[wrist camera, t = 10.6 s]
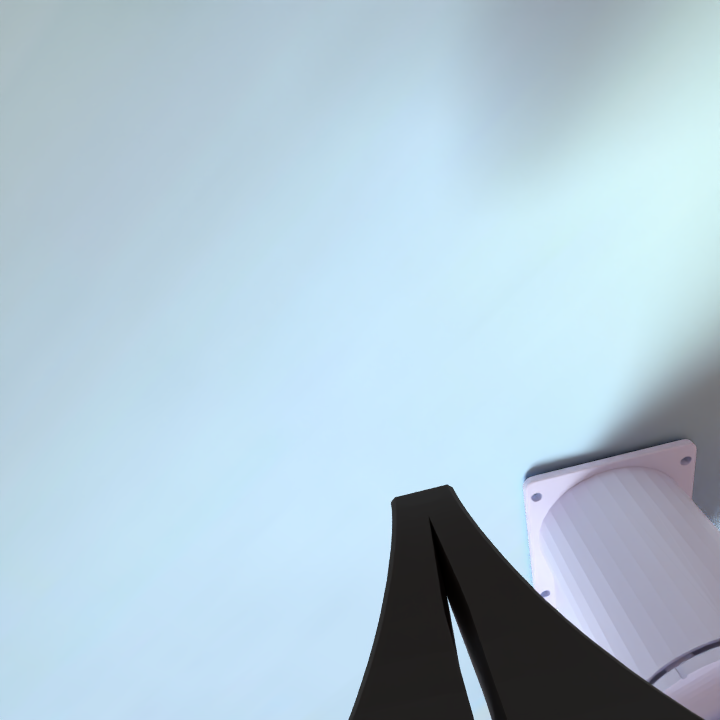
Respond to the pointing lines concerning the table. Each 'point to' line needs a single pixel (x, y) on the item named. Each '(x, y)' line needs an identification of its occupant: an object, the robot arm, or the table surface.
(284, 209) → the table surface
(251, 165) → the table surface
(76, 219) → the table surface
